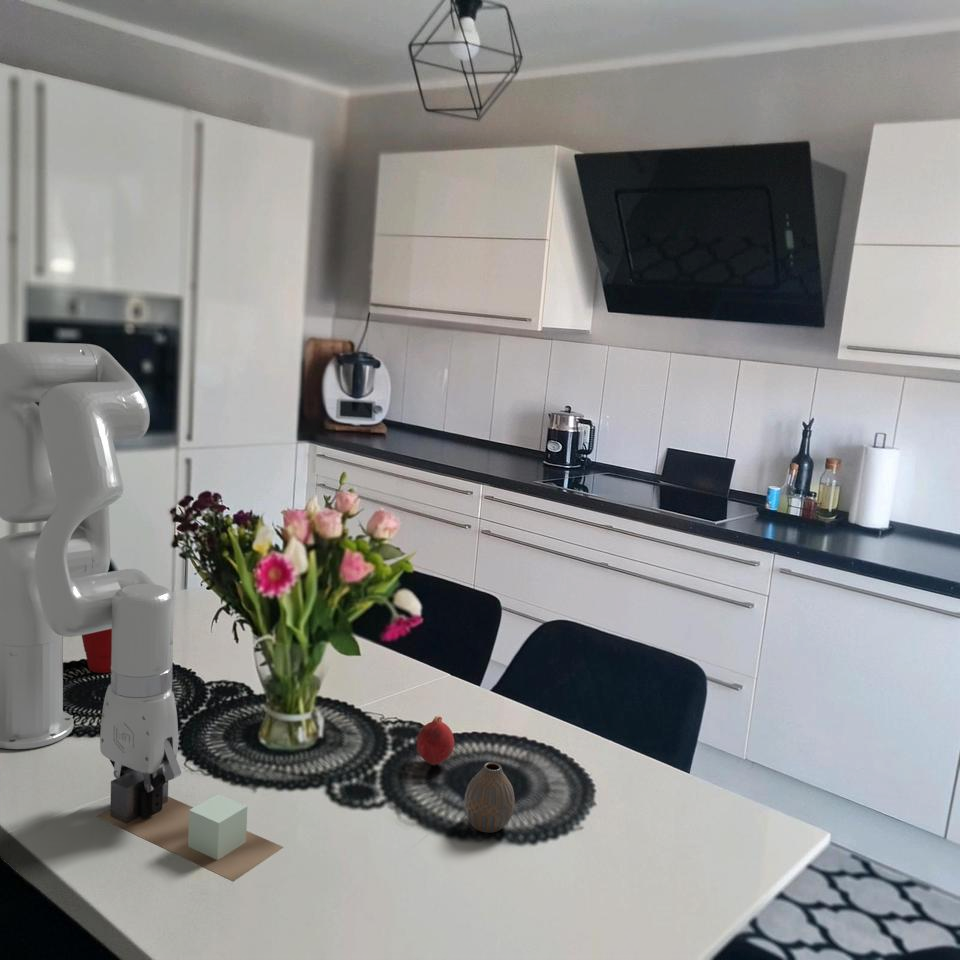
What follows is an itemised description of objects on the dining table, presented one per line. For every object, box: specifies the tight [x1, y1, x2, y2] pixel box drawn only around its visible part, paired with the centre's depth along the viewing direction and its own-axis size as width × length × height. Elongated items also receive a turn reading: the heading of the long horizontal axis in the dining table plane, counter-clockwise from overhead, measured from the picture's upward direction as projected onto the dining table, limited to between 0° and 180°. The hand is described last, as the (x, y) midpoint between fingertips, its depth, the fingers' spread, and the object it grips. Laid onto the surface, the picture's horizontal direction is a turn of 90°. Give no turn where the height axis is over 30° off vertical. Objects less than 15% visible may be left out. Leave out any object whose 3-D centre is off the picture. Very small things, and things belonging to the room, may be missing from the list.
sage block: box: [188, 793, 248, 860], centre depth 121 cm, size 5×5×5 cm
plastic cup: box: [81, 629, 112, 674], centre depth 173 cm, size 11×11×12 cm
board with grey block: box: [96, 770, 284, 882], centre depth 123 cm, size 24×9×6 cm, turn 61°
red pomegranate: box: [416, 715, 455, 766], centre depth 147 cm, size 6×6×8 cm
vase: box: [463, 762, 516, 833], centre depth 131 cm, size 7×7×9 cm
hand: (139, 807), depth 128 cm, fingers open, 3 cm apart
